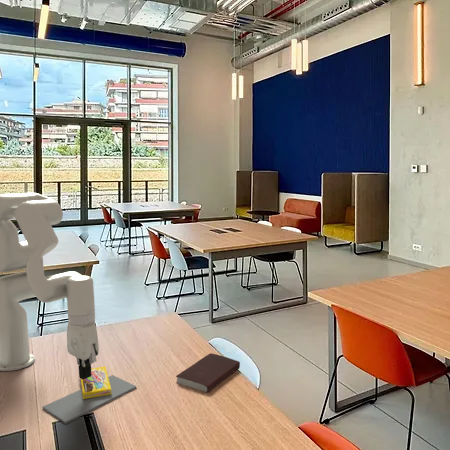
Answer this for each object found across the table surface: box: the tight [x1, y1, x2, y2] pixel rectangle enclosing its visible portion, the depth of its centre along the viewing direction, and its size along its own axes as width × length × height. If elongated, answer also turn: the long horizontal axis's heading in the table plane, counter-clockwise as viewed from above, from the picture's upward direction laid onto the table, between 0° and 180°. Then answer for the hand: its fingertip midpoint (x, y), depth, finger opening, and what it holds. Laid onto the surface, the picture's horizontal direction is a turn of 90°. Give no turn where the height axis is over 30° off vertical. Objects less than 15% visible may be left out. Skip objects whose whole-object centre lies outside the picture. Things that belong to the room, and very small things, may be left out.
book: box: [175, 352, 241, 394], centre depth 142 cm, size 12×19×3 cm, turn 147°
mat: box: [42, 374, 137, 424], centre depth 129 cm, size 12×24×1 cm, turn 141°
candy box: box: [79, 366, 112, 399], centre depth 135 cm, size 16×2×8 cm
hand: (85, 377), depth 130 cm, fingers closed
